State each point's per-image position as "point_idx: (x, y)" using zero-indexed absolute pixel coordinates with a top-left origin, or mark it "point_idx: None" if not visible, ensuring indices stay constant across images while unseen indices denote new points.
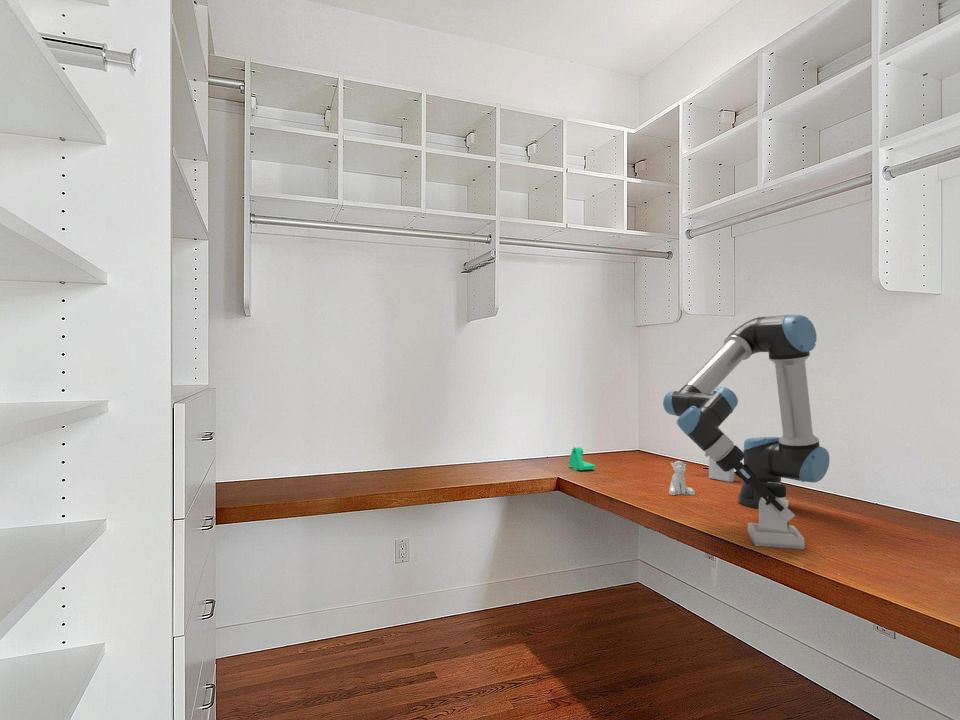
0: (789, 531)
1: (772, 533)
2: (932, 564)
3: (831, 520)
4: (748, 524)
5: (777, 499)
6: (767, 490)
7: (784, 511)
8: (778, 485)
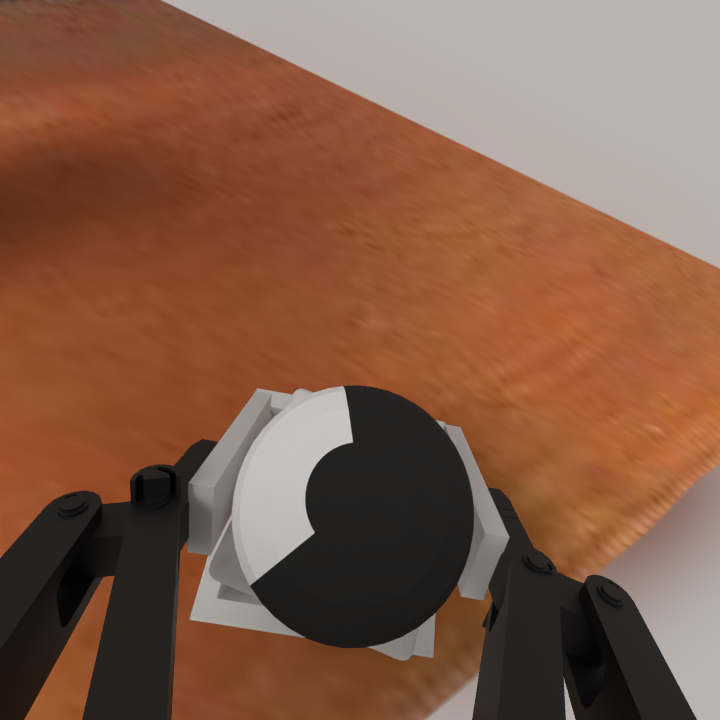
0: (270, 417)
1: None
2: (485, 180)
3: (59, 193)
4: (217, 622)
5: (499, 527)
6: (676, 694)
7: None
8: (441, 474)
